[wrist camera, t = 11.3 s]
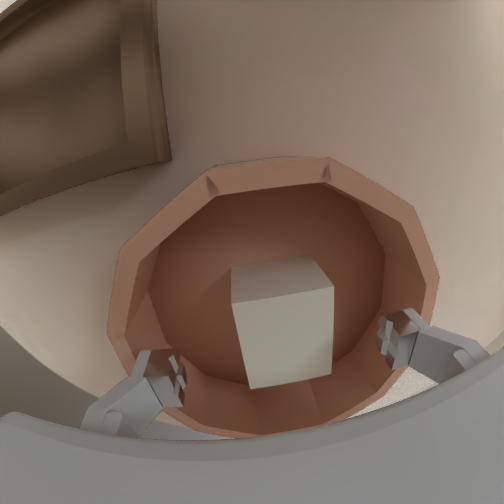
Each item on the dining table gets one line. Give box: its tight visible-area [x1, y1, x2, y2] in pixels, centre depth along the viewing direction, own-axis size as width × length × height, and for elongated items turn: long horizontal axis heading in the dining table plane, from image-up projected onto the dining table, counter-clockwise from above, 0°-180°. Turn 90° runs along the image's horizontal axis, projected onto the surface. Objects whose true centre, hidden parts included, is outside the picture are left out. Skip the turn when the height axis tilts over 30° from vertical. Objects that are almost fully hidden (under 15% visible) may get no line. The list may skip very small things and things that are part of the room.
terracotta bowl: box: [107, 156, 440, 439], centre depth 13 cm, size 15×15×5 cm
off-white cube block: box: [231, 255, 334, 389], centre depth 13 cm, size 5×4×4 cm
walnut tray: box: [0, 0, 172, 216], centre depth 8 cm, size 14×14×3 cm
